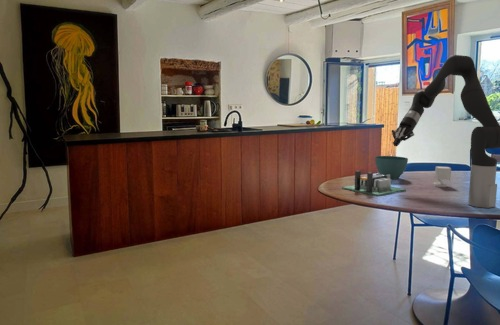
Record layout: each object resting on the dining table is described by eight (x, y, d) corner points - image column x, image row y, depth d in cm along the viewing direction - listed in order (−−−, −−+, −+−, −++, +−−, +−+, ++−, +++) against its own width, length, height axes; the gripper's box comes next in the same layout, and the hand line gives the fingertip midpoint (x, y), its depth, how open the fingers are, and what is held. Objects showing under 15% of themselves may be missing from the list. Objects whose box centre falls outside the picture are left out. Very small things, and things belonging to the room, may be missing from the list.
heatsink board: (405, 190, 196) (406, 171, 195) (377, 196, 184) (378, 175, 182) (369, 184, 214) (370, 166, 213) (342, 188, 202) (342, 169, 200)
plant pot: (408, 177, 236) (409, 156, 234) (405, 182, 220) (406, 160, 218) (377, 174, 244) (378, 155, 243) (371, 179, 228) (372, 158, 227)
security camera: (450, 187, 205) (451, 168, 204) (435, 186, 206) (436, 168, 205) (446, 185, 211) (447, 166, 210) (432, 184, 213) (433, 166, 211)
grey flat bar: (387, 175, 200) (367, 178, 191) (387, 177, 200) (367, 180, 192) (379, 174, 204) (359, 177, 195) (379, 176, 204) (359, 179, 195)
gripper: (396, 115, 212) (381, 139, 207) (418, 116, 202) (403, 141, 196) (401, 125, 216) (386, 149, 211) (424, 126, 205) (409, 151, 200)
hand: (395, 145), depth 204 cm, fingers closed
